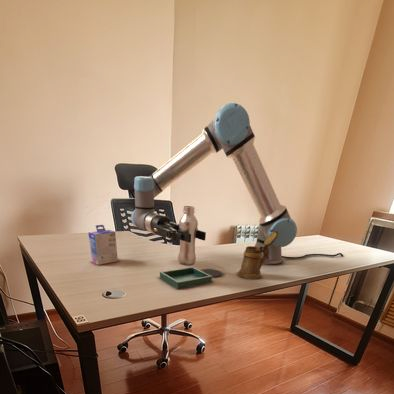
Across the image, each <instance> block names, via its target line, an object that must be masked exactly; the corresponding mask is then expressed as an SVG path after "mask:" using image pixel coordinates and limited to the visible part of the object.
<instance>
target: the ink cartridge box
mask: <svg viewBox="0 0 394 394" xmlns="http://www.w3.org/2000/svg"><path fill="white" fill-rule="evenodd" d="M95 229H96V231H89V232H87V233H88V240H89V247H90V254H91V261H92V263H93V264H96V265H97V266H98V265H99V266H100V265H104V264H109V263H114V262H118V261H119V257H118V247H117V235H116V231H113V230H111V229H106V228H105V225H104V224H97V225H95Z"/></svg>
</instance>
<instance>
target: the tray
mask: <svg viewBox="0 0 394 394" xmlns="http://www.w3.org/2000/svg"><path fill="white" fill-rule="evenodd" d="M159 279H160V280H162V281H164V282H166V283H167V284H169V285H171V286H172V287H173V288H176V290H179V289H184V288H191V287H194V286H195V287H196V286H200V285H205V284H211V283H212V280H213V277H212V276H210V275H208V274H206V273H204V272H202V271H201V269H198V268H196V267H194V266H188V267H184V268H177V269H172V270H171V269H170V270H165V271H159Z"/></svg>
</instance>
